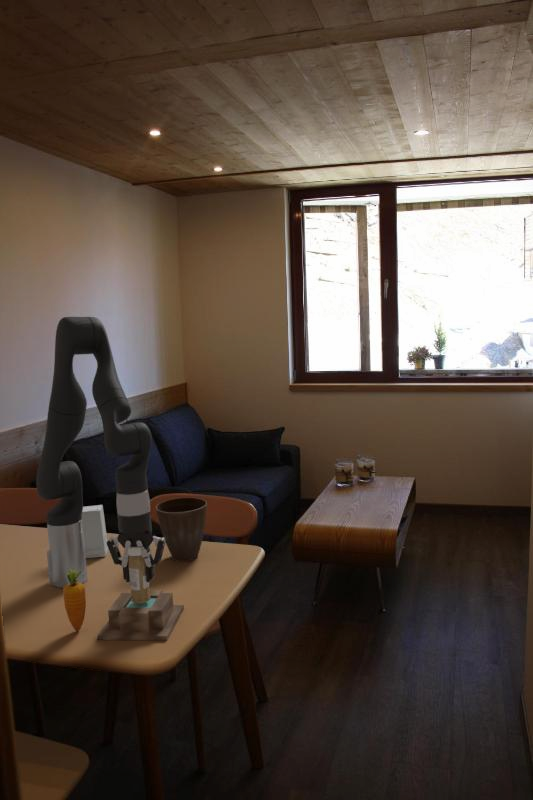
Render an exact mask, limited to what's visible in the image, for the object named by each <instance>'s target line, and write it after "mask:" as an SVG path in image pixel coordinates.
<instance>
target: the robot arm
mask: <svg viewBox="0 0 533 800" xmlns="http://www.w3.org/2000/svg"><path fill="white" fill-rule="evenodd" d="M55 331H56V332H55V339H54V340H55V341H54V342H55V343H54V362H53V363H54V364H53V365H54V368H53V375H52V383H51V384H52V385H51V392H50V398H49V403H48V409H47V410H48V411H47V418H46V419H47V420H46V426H45V427H46V428H45V434H44V435H45V436H44V441H43V446H42V451H41V455H40V458H39V459H40V460H39V463H38V467H37V470H36V471H37V472H36V477H35V478H36V480H35V482H36V483H35V485H36V490H37V494H38V495H39V497H40V498H41V499H42V500H45V501H52V500H56V499H60V500H59V501H58V502H57V504H56V505H54V507H52V508H51V509H49V510H48V511H47V513H46V516H45V520H46V525H47V534H48V535H47V538H48V547H49V548H48V550H47V552H46V558H47V559H46V561H47V569H48V580H49V586H54V587H57V588H62V589H63V588H64V587H65V586H66V585H68V584H70V582H69V580H68V577H67V573H69V571H68V570H69V569H72V573H73V571H76V575H77V573H78V572H79V571H82V572H81V573H80V574H79V576H78V578H77V579H78V581H77V582H76V583H81V584H84V583H86V582H87V580H88V570H87V558H86V556H85V545H84V534H83V524H82V510H83V507H84V503H83V502H84V498H83V497H84V496H83V477H82V473H81V470H80V468H79V466H78V465H77V463H76V462H74V461H73V460H72V461H71V460H65V461H62V460H63V458H64V456H65V453H66V452H67V451H68V449H69V448H70V447H71V445H72V444H73V442H74V441H75V440H76V438H77V437H78V436H79V434H80V433H81V430H83V426H84V424H85V418H86V412H87V404H88V402H87V397H86V395H85V393H84V391H83V388H82V387H81V385H80V383H79V382H78V380H77V378H76V376H75V373H74V368H73V367H74V366H73V364H74V363H73V362H74V357H75V355H78V356H79V355H93V356H94V359H95V360H96V365H97V367H96V371H95V375H94V377H93V382H92V385H91V386H92V387H91V388H92V389H91V392H92V397H93V400H94V404H95V405H96V407H97V410H98V412H99V415H100V418H101V422H102V429H103V444H104V447H105V450H106V452H107V453H108V454H109V455H111V456H112V457H115V458H122V457H127V456H130V455H131V457H130V459H129V461H127V462H126V463H124V464H122V465H119V466H118V467H117V468H116V469H115V471H114V475H115V489H116V499H115V500H116V514H117V528H118V535H117V537H112V536H111V537H110V538H109V539H107V546H108V552H109V553H110V557H111V558H112V561H113V564H114V565H116V566H117V565H119V566H121V568H122V575H123V581H124V580H125V582H126V583H130V578H129V562H128V556H129V555H128V548H130V547H138V548H140V549H141V555H142V558H143V559H144V560H145V563H146V579H147V582H149V583H151V582H152V580H153V579H154V578H155V565H156V566H157V565H158V564H160V561H161V560H162V557H163V554H164V550H165V549H164V548H165V545H166V542H165V541H166V538H165V537H163V536H162V537H159V536H156V535H155V533H154V532H153V527H152V513H151V508H152V507H151V506H152V505H151V501H150V494H149V490H148V488H149V487H148V477H147V472H148V471H147V470H148V464H149V458H150V454H151V448H152V442H153V436H152V432H151V430H150V428H149V427H148V425H147V424H146V423H144V422H142V421H141V422H132V423H131V422H130V423H124V424H121V423H123V422H124V421H126V420H127V419H129V417H130V416H131V413H132V407H131V405H130V402H129V400H128V398H127V396H126V394H125V390H124V389H123V386H122V384H121V382H120V379H119V377H118V373H117V372H118V371H117V370H116V365H115V360H114V356H113V352H112V349H111V345H110V341H109V338H108V333H107V331H106V327H105V325H104V324H103V322H102V320H100V319H99V318H98V317H95V316H64V317H62V318H60V320H59V321H58V323H57V326H56V330H55ZM152 543H154V547H155V548H156V550H155V553H154V556H153V554H152V553H153V552H152V551H153V550H151V544H152ZM119 544H120V545H121V547H122V548H123V549H124V551H123V555H122V554H121V551H120V549H119ZM146 550H147V552H146ZM76 575H75V576H76Z"/></svg>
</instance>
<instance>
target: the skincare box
mask: <svg viewBox="0 0 533 800" xmlns="http://www.w3.org/2000/svg"><path fill="white" fill-rule="evenodd" d="M82 524H83V534H84V545H85V556H86V559H93V558H104V557H106V556H107V553H108V552H109V549H108V546H107V541H108V536H107V529H106V521H105V513H104V506H103V504H98V505H88V506H83V510H82Z"/></svg>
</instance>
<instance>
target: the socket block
mask: <svg viewBox="0 0 533 800" xmlns="http://www.w3.org/2000/svg"><path fill="white" fill-rule="evenodd" d="M149 592H150V598H157V599H156V600H155V602H154V603H153V605H152V607H151V608H126V607H127V605H128V604H129V602H130V601H131V598H132V596H131V592H121V593H120V594H119V595H118V597H117V598H116V599H115V601H114V602H113V603H112V604H111V606H110V607H109V608H108V610H107V615H108V621H107V622H106V624H105V625H104V626H103V628H102V629H101V630H100V631H99V633H98V635H97V640H98V639H103V640H102V641H168V640H169V638H170V636H171V634H172V633H173V631H174V628H175V626H176V624H177V623H178V621H179V619H180V618H181V615H182V613H183V611H184V610H185V606H184V604H174V598H173V592H163V590H161V589H159V590H158V589H157V590H155V589H154V590H153V589H151V590H150V589H149Z"/></svg>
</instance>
